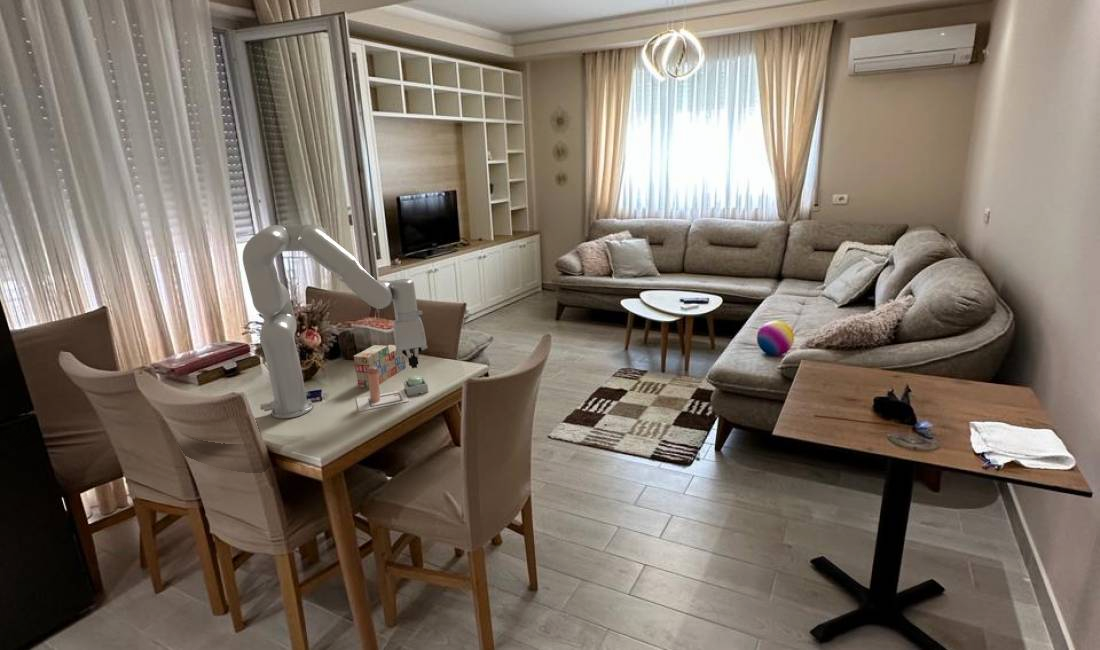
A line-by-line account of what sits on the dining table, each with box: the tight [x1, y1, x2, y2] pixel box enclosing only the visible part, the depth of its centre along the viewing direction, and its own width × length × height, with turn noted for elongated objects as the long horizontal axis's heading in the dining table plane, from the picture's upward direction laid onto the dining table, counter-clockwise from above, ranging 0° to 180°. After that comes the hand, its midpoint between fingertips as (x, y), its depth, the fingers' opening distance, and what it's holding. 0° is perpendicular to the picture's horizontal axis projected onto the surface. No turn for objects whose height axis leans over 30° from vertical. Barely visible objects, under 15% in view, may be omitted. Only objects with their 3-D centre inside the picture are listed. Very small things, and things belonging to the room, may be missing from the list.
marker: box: [367, 366, 381, 402], centre depth 192 cm, size 3×3×12 cm
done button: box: [407, 375, 423, 387], centre depth 200 cm, size 5×5×3 cm
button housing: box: [403, 377, 429, 397], centre depth 200 cm, size 7×7×3 cm
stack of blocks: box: [353, 344, 406, 389], centre depth 213 cm, size 21×6×12 cm, turn 161°
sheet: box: [355, 389, 410, 412], centre depth 194 cm, size 16×11×1 cm
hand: (414, 366), depth 198 cm, fingers closed
